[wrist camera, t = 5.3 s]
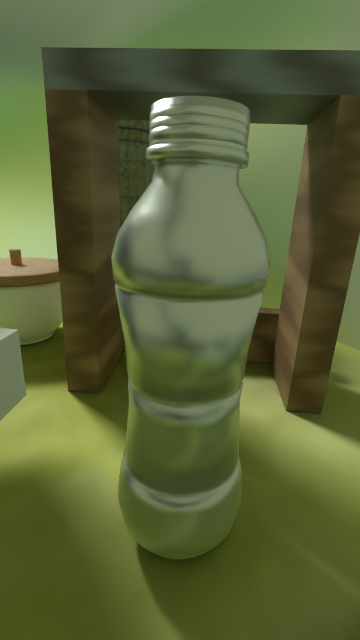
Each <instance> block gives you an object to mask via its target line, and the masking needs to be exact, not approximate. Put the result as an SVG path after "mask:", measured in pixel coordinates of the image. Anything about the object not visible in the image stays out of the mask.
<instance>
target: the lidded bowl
mask: <svg viewBox="0 0 360 640" xmlns="http://www.w3.org/2000/svg"><path fill="white" fill-rule="evenodd" d="M9 252H10V258H1V259H0V328H6V329H18V332H19V340H20V345H28V344H34V343H38V342H41V341H44V340H46V339H48V338H50V337H51V336H53V334H54V331H55V330H56V329H57V328H58V327H59V326H60V325H61V323H62V322H63V319H62V306H61V293H60V280H59V267H58V260H54V259H45V258H21V250H20V249H10V250H9Z"/></svg>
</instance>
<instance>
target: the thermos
mask: <svg viewBox="0 0 360 640" xmlns="http://www.w3.org/2000/svg"><path fill="white" fill-rule="evenodd" d="M149 130H150V121H147V120H118V140H119V204H120V228H121V226H122V225H123V223H124V221H125V220H126V218H127V216H128V215H129V213H130V211H131V210H132V208H133V207H134V205H135V204H136V203H137V201H138V200H139V199H140V197H141V196H142V195H143V193H144V192H145V190H146V189H147V188H148V186H149V185H150V184H151V182H152V178H153V173H154V165H151V164H148V163H147V162H146V149H147V148H148V147H149Z"/></svg>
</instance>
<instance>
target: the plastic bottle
mask: <svg viewBox="0 0 360 640" xmlns="http://www.w3.org/2000/svg"><path fill="white" fill-rule="evenodd" d="M249 126H250V110H249V109H248V108H247V107H246V106H244V105H243V104H241V103H238V102H235V101H232V100H228V99H223V98H217V97H208V96H179V97H171V98H165V99H162V100H159V101H157V102H155V103H153V104H152V105H151V112H150V130H149V147H148V148H147V149H146V162H147V163H148V164H151V165H154V173H153V178H152V182H151V184H150V185H149V186H148V188H147V189H146V190H145V192H144V193H143V195H142V196H141V197H140V199H139V200H138V201H137V203H136V204H135V205H134V207H133V208H132V210H131V211H130V213H129V215H128V216H127V218H126V220H125V221H124V223H123V225H122V226H121V228H120V230H119V232H118V233H117V236H116V240H115V244H114V248H113V252H112V256H111V260H112V269H113V279H114V280H115V282H116V285H115V290H116V296H117V301H118V307H119V313H120V318H121V324H122V330H123V335H124V341H125V351H126V365H127V374H128V376H129V377H128V391H129V408H128V421H127V434H126V447H125V451H124V454H123V458H122V462H121V468H120V475H119V483H118V499H119V504H120V508H121V512H122V515H123V519H124V523H125V525H126V527H127V529H128V532H129V533H130V535H131V536H132V537H133V538H134V540H135V541H136V542H137V543H139V544H140V545H141V546H142V547H144V548H145V549H147V550H149V551H151V552H153V553H155V554H157V555H159V556H161V557H165V558H169V559H188V558H193V557H196V556H199V555H201V554H204V553H206V552H208V551H210V550H211V549H213V548H215V547H216V546H218V545H219V544H220V543H221V542H222V541H223V540H224V539H225V538H226V536H227V535H228V533H229V532H230V530H231V529H232V526H233V523H234V521H235V518H236V515H237V512H238V510H239V507H240V504H241V501H242V470H241V463H240V456H239V413H240V396H241V391H242V385H243V383H242V380H243V379H244V373H245V367H246V361H247V355H248V349H249V345H250V342H251V338H252V334H253V331H254V327H255V323H256V320H257V316H258V312H259V309H260V305H261V301H262V298H263V293H264V291H263V288H264V287H265V286H266V282H267V277H268V272H269V267H270V259H269V252H268V246H267V240H266V237H265V235H264V233H263V230H262V228H261V226H260V224H259V221H258V219H257V217H256V215H255V213H254V211H253V209H252V208H251V206H250V204H249V202H248V200H247V198H246V197H245V195H244V193H243V191H242V190H241V188H240V186H239V170H240V169H244V168H246V167H248V160H249V153H248V152H247V145H248V136H249Z"/></svg>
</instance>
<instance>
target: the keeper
mask: <svg viewBox="0 0 360 640" xmlns="http://www.w3.org/2000/svg"><path fill="white" fill-rule="evenodd" d="M42 60H43V73H44V86H45V98H46V110H47V124H48V136H49V150H50V163H51V176H52V189H53V202H54V214H55V228H56V241H57V253H58V267H59V280H60V293H61V306H62V319H63V331H64V344H65V357H66V370H67V383H68V391H77V392H88V393H100V392H101V390H102V389H103V387H104V385H105V384H106V382H107V380H108V379H109V377H110V375H111V374H112V372H113V371H114V369H115V367H116V366H117V364H118V362H119V361H120V359H121V357H122V351H125V341H124V335H123V330H122V324H121V318H120V313H119V307H118V301H117V296H116V290H115V285H116V282H115V280H114V279H113V269H112V260H111V256H112V252H113V248H114V244H115V240H116V236H117V233H118V232H119V230H120V204H119V140H118V120H147V121H150V112H151V105H152V104H153V103H155V102H157V101H159V100H162V99H165V98H171V97H179V96H208V97H217V98H223V99H228V100H232V101H235V102H238V103H241V104H243V105H244V106H246V107H247V108H248V109H249V110H250V123H261V124H262V123H264V124H265V123H266V124H299V125H307V131H306V138H305V145H304V152H303V158H302V165H301V172H300V178H299V185H298V191H297V198H296V205H295V212H294V219H293V225H292V232H291V239H290V245H289V252H288V259H287V265H286V273H285V279H284V285H283V292H282V299H281V306H280V309H270V308H260V309H259V312H258V316H257V320H256V323H255V327H254V331H253V334H252V338H251V342H250V345H249V349H248V355H247V361H251V362H263V363H272V366H271V370H272V373H273V376H274V378H275V381H276V384H277V387H278V389H279V392H280V395H281V398H282V400H283V403H284V406H285V409H286V410H288V411H299V412H310V413H321V410H322V406H323V401H324V396H325V392H326V387H327V382H328V378H329V373H330V368H331V364H332V359H333V355H334V350H335V345H336V341H337V335H338V331H339V327H340V322H341V317H342V312H343V308H344V303H345V299H346V294H347V289H348V285H349V280H350V275H351V270H352V266H353V261H354V257H355V252H356V247H357V243H358V238H359V233H360V51H353V50H351V51H350V50H342V51H341V50H251V49H247V50H246V49H150V48H146V49H145V48H143V49H142V48H49V47H42ZM125 352H126V351H125Z"/></svg>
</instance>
